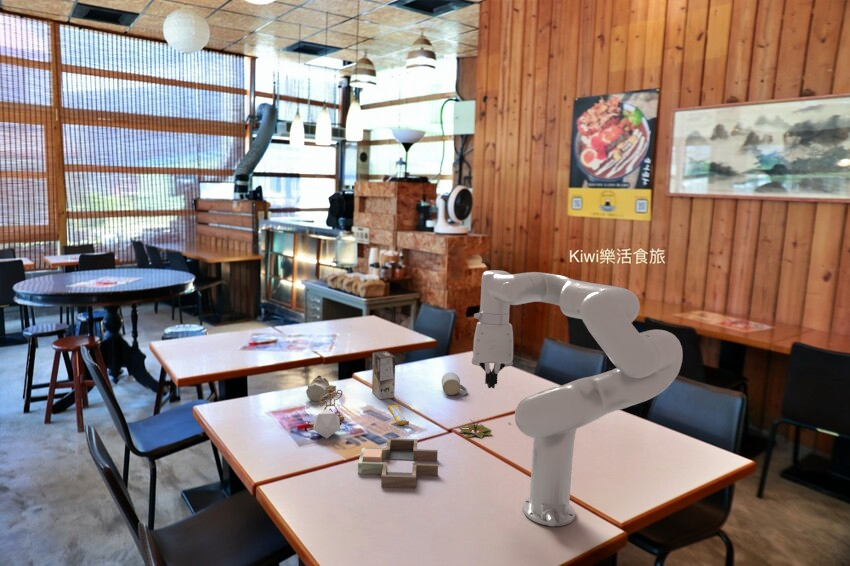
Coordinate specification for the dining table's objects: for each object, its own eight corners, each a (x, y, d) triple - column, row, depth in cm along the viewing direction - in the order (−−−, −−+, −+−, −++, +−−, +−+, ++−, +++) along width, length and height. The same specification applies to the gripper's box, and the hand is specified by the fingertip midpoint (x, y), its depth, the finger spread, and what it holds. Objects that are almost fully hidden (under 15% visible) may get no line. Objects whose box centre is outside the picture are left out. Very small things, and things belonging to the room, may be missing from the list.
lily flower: (463, 442, 182) (464, 428, 181) (452, 427, 194) (453, 414, 193) (499, 439, 185) (499, 425, 184) (486, 424, 197) (486, 412, 196)
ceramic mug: (442, 396, 222) (443, 377, 221) (441, 389, 230) (442, 371, 229) (468, 397, 222) (469, 378, 221) (466, 390, 230) (467, 372, 229)
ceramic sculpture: (300, 379, 209) (311, 369, 224) (299, 402, 210) (310, 391, 225) (328, 381, 209) (338, 371, 223) (328, 404, 209) (337, 393, 224)
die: (345, 438, 182) (344, 408, 187) (330, 433, 175) (329, 403, 180) (323, 443, 185) (323, 413, 190) (307, 438, 178) (307, 408, 182)
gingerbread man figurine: (318, 422, 192) (318, 388, 191) (316, 418, 196) (316, 384, 194) (344, 419, 196) (344, 386, 194) (341, 415, 199) (342, 382, 197)
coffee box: (395, 397, 219) (396, 356, 216) (379, 399, 216) (380, 358, 214) (386, 390, 227) (387, 350, 225) (371, 392, 224) (371, 352, 222)
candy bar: (409, 426, 193) (410, 421, 193) (397, 427, 192) (397, 421, 192) (398, 408, 209) (398, 403, 209) (387, 409, 208) (387, 404, 208)
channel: (438, 488, 151) (438, 478, 151) (354, 486, 151) (354, 475, 151) (436, 449, 175) (437, 439, 175) (364, 446, 175) (364, 437, 175)
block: (380, 470, 161) (380, 457, 160) (362, 470, 161) (362, 456, 160) (381, 462, 166) (382, 449, 165) (364, 461, 166) (364, 448, 165)
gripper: (466, 320, 145) (463, 390, 148) (525, 322, 145) (521, 392, 148) (464, 314, 152) (461, 381, 155) (520, 316, 152) (517, 383, 155)
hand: (490, 386), depth 151 cm, fingers closed
